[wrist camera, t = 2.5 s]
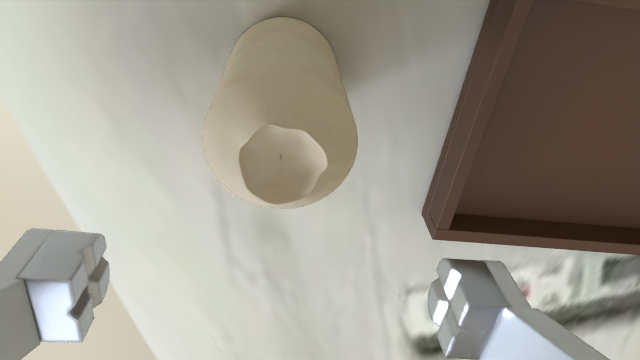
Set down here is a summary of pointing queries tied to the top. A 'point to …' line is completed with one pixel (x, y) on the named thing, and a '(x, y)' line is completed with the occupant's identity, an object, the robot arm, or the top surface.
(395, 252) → the top surface
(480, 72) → the tray
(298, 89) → the candle
